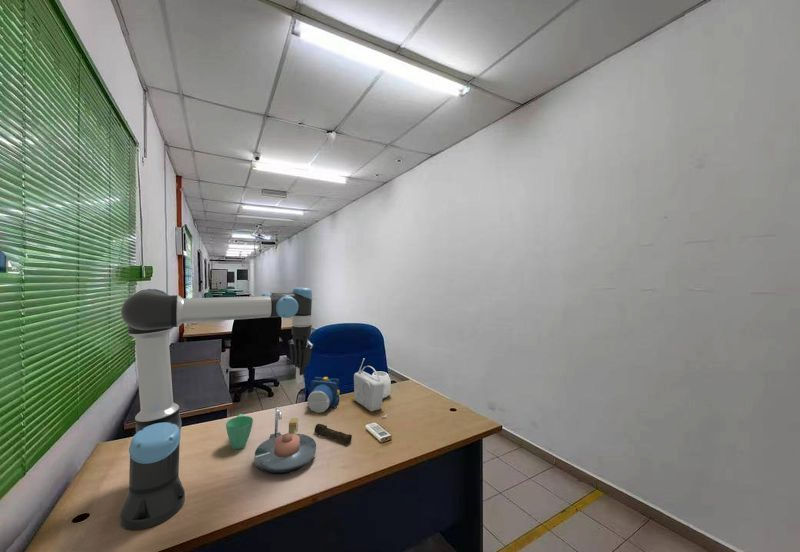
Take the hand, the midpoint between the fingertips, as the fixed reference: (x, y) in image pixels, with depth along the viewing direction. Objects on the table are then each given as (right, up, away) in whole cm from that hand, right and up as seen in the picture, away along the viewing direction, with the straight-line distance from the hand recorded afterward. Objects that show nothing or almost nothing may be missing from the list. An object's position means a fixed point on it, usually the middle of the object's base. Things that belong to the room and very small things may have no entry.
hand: (299, 382), depth 129 cm
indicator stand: (-10, -26, +3) cm, 28 cm away
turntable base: (-2, -26, -9) cm, 28 cm away
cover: (-1, -22, -11) cm, 25 cm away
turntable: (-3, -24, -9) cm, 26 cm away
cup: (+29, -27, +54) cm, 67 cm away
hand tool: (+12, -27, +7) cm, 30 cm away
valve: (0, -26, +37) cm, 45 cm away
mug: (-25, -26, +1) cm, 36 cm away
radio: (+23, -27, +42) cm, 55 cm away
